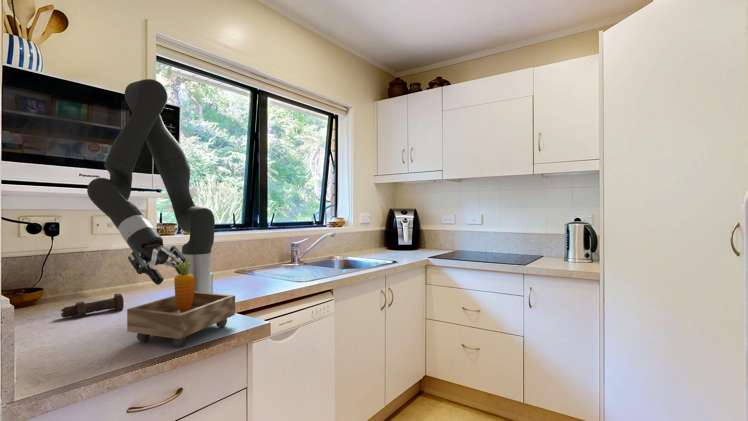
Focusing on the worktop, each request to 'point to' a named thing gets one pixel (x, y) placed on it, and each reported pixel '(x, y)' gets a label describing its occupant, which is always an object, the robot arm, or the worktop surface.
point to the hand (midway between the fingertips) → (173, 279)
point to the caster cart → (179, 316)
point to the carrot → (184, 287)
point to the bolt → (93, 306)
